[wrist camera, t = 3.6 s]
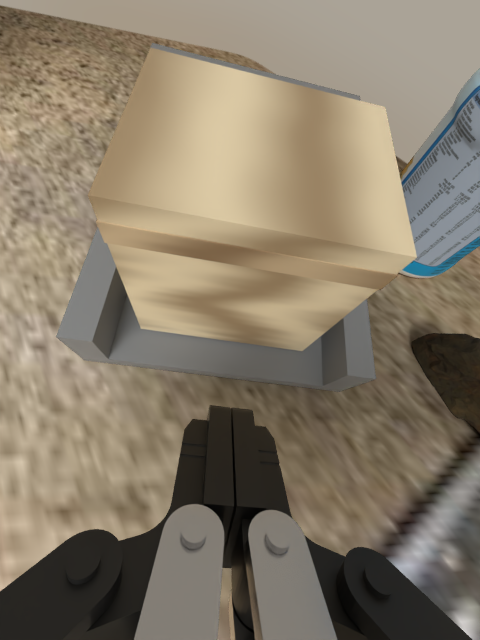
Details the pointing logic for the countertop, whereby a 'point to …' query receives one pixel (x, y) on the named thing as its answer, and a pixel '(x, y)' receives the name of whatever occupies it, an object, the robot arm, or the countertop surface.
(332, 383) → the bay
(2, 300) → the countertop surface
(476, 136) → the beverage bottle
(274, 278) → the wooden cube box
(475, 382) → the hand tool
